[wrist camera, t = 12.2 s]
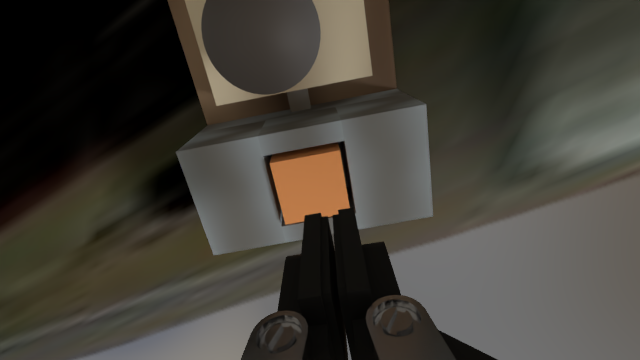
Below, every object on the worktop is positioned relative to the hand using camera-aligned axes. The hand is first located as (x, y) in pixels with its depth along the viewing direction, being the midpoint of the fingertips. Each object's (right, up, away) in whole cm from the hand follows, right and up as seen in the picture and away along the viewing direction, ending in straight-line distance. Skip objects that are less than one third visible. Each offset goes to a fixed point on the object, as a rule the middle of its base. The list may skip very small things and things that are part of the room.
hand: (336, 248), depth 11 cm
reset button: (-1, +3, +8) cm, 9 cm away
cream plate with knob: (-2, +10, +7) cm, 12 cm away
